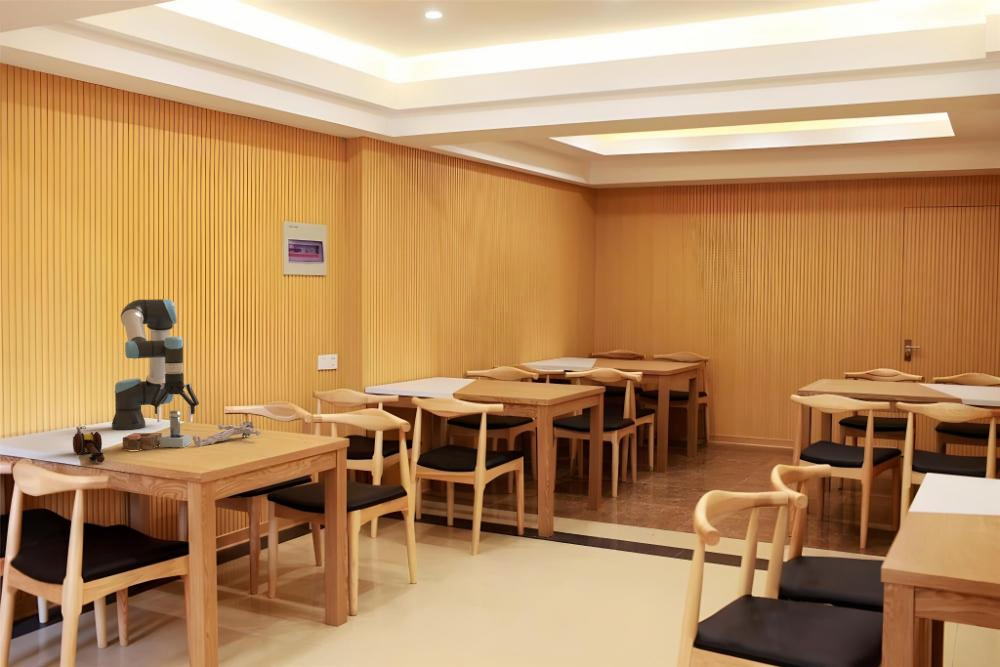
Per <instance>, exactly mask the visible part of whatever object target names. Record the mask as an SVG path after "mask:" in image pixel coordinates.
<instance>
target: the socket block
mask: <svg viewBox="0 0 1000 667" xmlns="http://www.w3.org/2000/svg"><path fill="white" fill-rule="evenodd" d="M132 434H141V438H140V439H137V442H133V439H129V436H130V435H132ZM162 437H163V433H162V432H134V433H131V434H129V435H125V436H123V437H122V450H123V449H128V450H140V449H152V448H154V447H156V446H158V447H160V446H159V445H160V441H159V439H160V438H162ZM156 448H157V447H156ZM154 449H155V448H154ZM152 450H153V449H152ZM140 451H141V450H140Z"/></svg>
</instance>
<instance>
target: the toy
mask: <svg viewBox="0 0 1000 667" xmlns="http://www.w3.org/2000/svg"><path fill="white" fill-rule="evenodd" d="M217 428H218V430H220V431H219V432H216V433H214V434H211V435H209V436H208V437H206V438H203V439H202V438H201V436H200V435H197V436H196V435H192V440H193V444H194V446H195V447H198V448H199V447H203V446H207V445H214V444H215V443H216V442H218V441H219V442H221V441H228V440H229V439H230V438H231V437H232V436H234V435H235V436H237V435H241V436H242V439H247V437H250V436H251V435H255V436H261V434H262V433H261V431H260V430H258V429H254V424H253V421H248V420H247V421H243V422H242V423H241V424H240V426H238V425H234V424H229V425H223V424H220V423H219V424H218V425H217ZM221 430H223V431H221Z"/></svg>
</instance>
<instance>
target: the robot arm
mask: <svg viewBox="0 0 1000 667" xmlns="http://www.w3.org/2000/svg"><path fill="white" fill-rule="evenodd" d="M177 320H178V318H177V312H176V306H175V302H174V301H173V300H172V299H164V298H162V299H161V298H160V299H159V298H157V299H156V298H155V299H136V300H132V301H131V302H129V303H128V304H126V305H125V306H124V308H123V309H122V310H121V313H120V322H121V324H122V325H123V326H124V328H125V332H126V333H125V334H126V337H127V341H126V342H125V344H124V352H125V353H124V354H125V358H126V359H134V360H136V359H149V372H148V373H149V374H148V375H147V376H145V380H144V381H142V380H141V378H139V377H137V378H129V379H128V378H127V379H123V380H120V381H118V382H116V383H115V385H114V397H115V398H114V400H115V401H114V402H115V403H114V404H115V406H114V407H115V408H114V409H115V413H114V416H113V419H112V422H111V429H112V430H117V431H123V430H124V431H126V430H127V431H128V430H138V429H143V428H146V426H147V425H146V420H145V418H144V415H143V411H142V406H153V407H154V414H155V415H156V416H157V417H156V418H157V419H156V422H157V423H160V422H162V406H161V405H166V404H170V403H172V402H173V399H174V396H175V395H180V396H181V397H182V398H183V400H184V401H185V402H186V403H187V404H188V405H189V407H188V423H192V422H193V421H194V419H193V418H194V416H193V415H195V414H196V413H195V412H196V410H195V409H196V407H197V406H198V405H200V402H199V399H198V398H197V396H196V394H195V393H194V390H193V388H192V384H191V383H188V384H187V383H186V384H185V382H184V381H185V380H184V379H185V378H184V373H183V372H184V342H183V340H184V339H183V337H181V336H170V331H171V330H173V328H174V325H175V324H177V323H178V322H177ZM144 325H146V327H147V329H148V330H149V331H150V333H149V334H150V335H149V336H150V338H149V340H148V339H147V336H146V332H145V327H144ZM184 389H186V391H187V393H188V394H187V393H186V392H185V390H184Z"/></svg>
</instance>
